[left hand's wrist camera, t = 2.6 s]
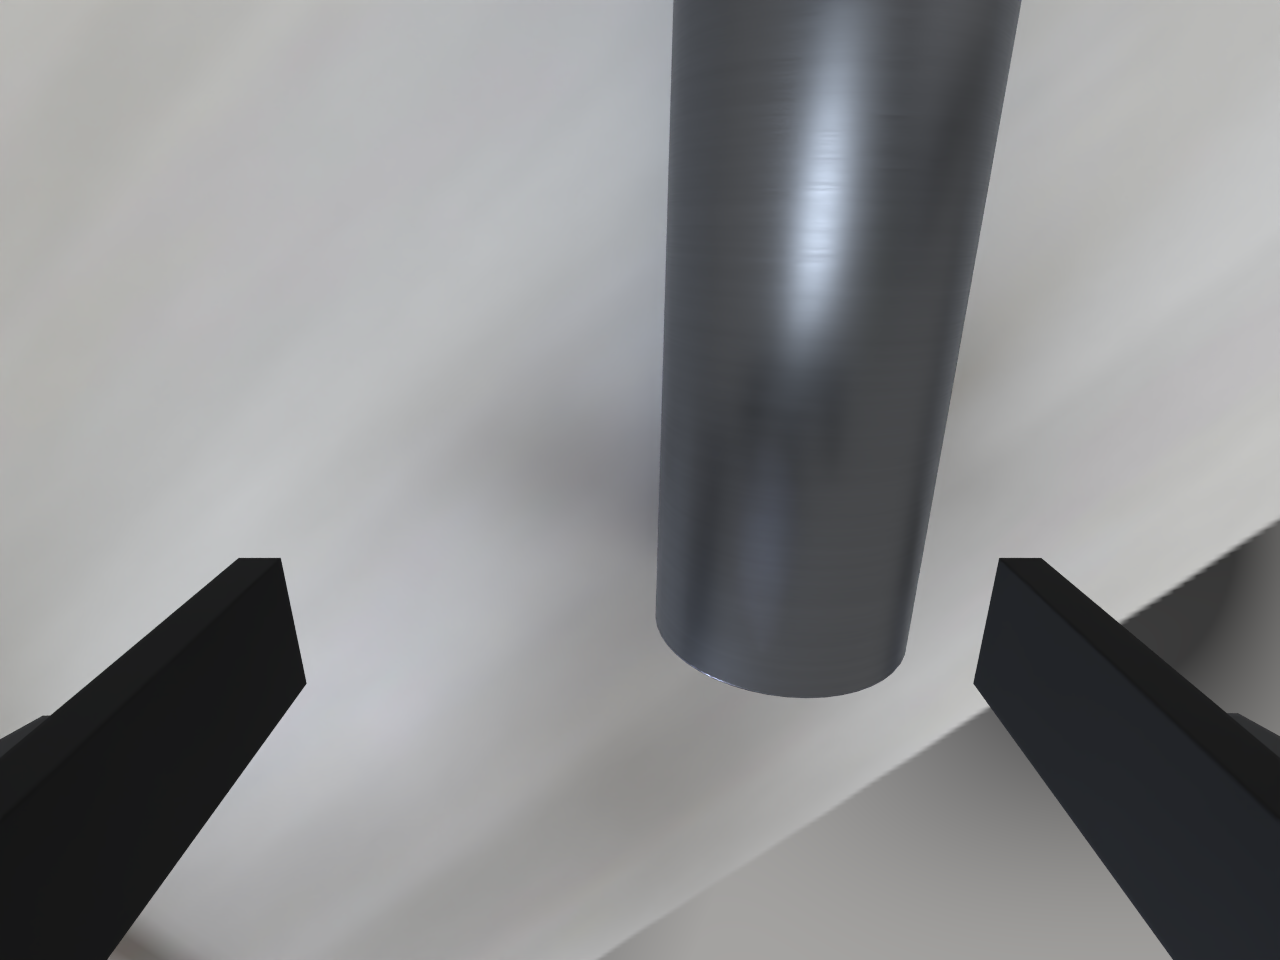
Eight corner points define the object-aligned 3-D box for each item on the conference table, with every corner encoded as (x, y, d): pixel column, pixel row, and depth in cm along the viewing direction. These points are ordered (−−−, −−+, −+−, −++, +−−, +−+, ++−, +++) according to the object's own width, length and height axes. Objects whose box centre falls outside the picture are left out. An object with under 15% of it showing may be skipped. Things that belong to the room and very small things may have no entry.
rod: (859, 565, 29) (950, 699, 21) (651, 563, 29) (660, 698, 20) (986, -315, 19) (1251, -717, 11) (674, -325, 19) (709, -742, 11)
